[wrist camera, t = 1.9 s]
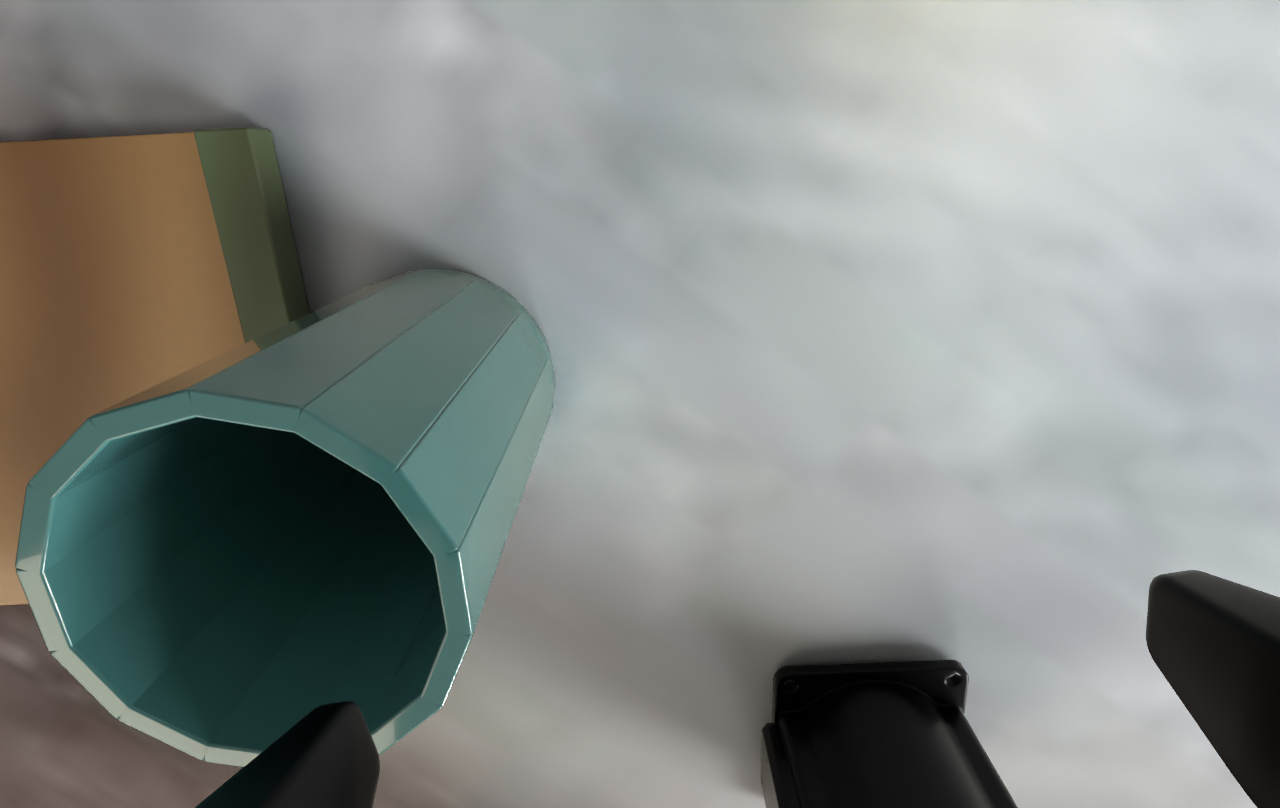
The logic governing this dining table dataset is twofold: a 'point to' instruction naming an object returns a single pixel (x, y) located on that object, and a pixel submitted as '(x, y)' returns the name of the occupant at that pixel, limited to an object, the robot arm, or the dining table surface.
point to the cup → (294, 519)
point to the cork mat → (127, 280)
